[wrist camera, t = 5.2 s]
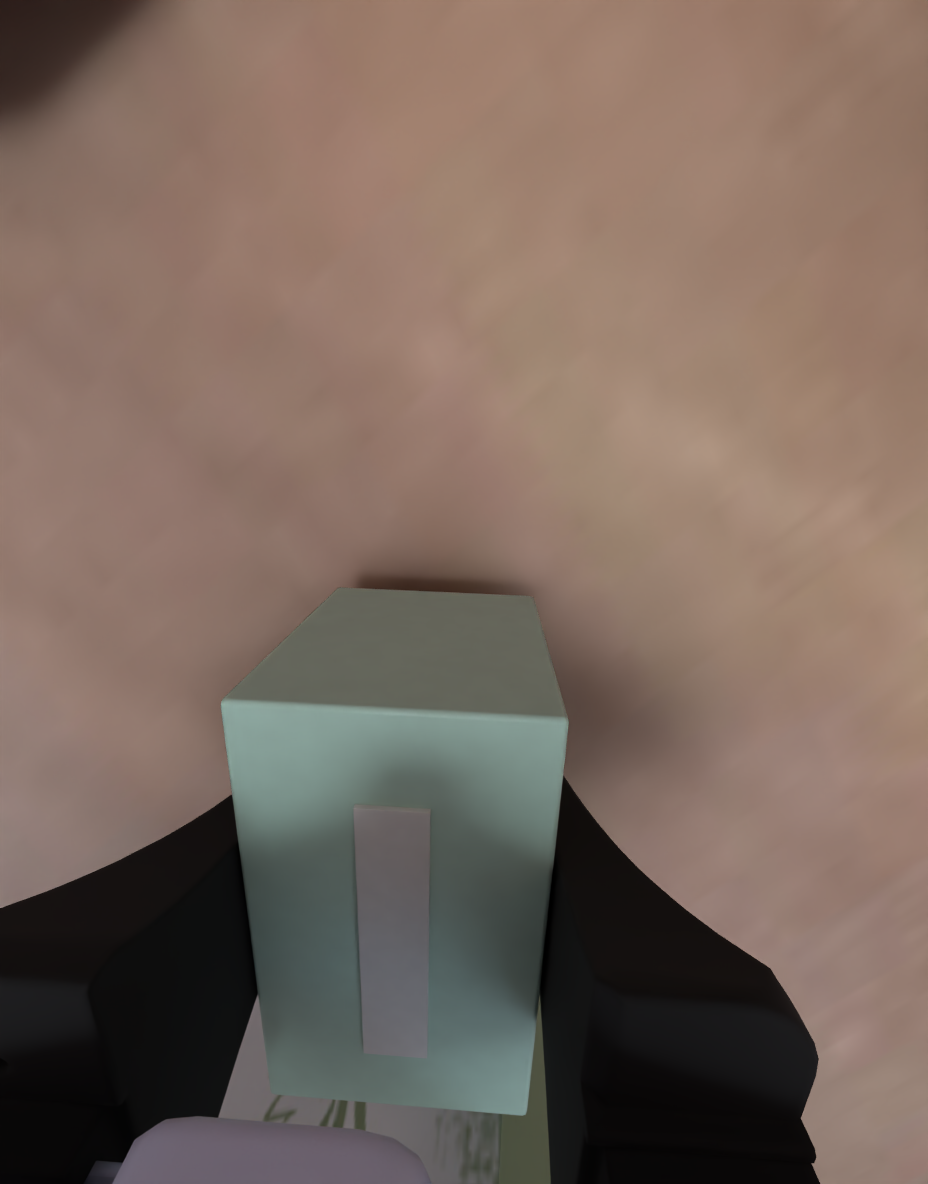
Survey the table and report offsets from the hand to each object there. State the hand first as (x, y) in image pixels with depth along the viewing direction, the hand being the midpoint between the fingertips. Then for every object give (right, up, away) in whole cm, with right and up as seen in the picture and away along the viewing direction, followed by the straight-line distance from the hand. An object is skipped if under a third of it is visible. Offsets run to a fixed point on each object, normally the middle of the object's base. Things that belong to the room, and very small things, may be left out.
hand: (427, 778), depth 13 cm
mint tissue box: (0, 0, +2) cm, 2 cm away
